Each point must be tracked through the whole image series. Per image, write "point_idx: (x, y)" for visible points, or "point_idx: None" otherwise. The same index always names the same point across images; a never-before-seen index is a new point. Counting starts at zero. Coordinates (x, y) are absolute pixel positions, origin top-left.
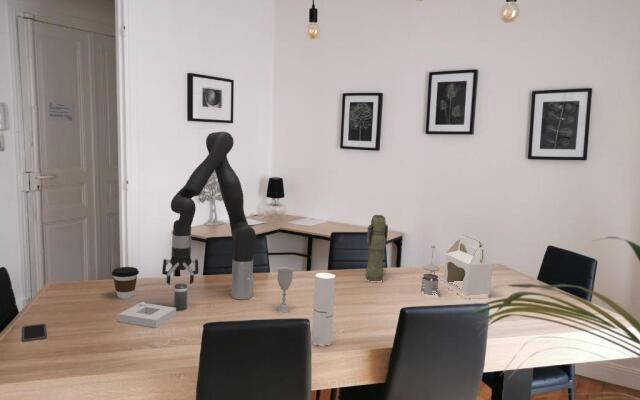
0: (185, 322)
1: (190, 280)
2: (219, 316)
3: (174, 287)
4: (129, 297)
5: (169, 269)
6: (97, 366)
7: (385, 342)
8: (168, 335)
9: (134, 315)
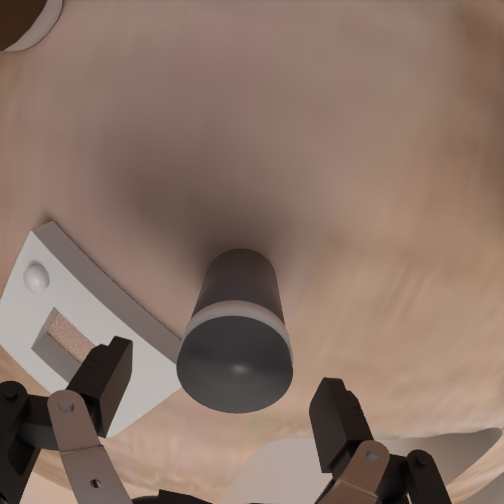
0: (221, 422)
1: (316, 435)
2: (362, 409)
3: (180, 344)
4: (38, 40)
5: (60, 450)
6: (47, 471)
7: (478, 490)
8: (156, 462)
9: (34, 371)
